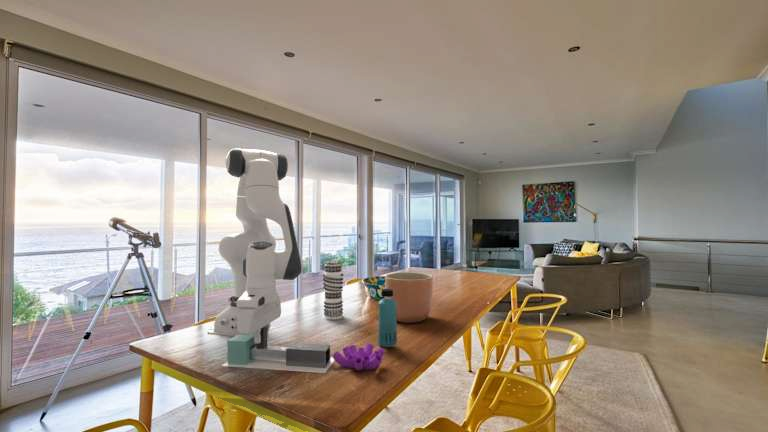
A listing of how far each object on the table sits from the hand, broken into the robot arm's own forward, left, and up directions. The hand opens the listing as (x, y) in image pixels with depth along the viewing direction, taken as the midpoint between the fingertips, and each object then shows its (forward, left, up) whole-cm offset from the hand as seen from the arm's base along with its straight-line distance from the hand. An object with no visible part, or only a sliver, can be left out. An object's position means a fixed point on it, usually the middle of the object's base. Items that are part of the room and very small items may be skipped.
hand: (261, 340), depth 110 cm
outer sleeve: (+15, 0, -6) cm, 16 cm away
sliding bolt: (+4, 0, -5) cm, 6 cm away
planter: (+40, +54, -7) cm, 68 cm away
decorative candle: (+6, +53, -7) cm, 54 cm away
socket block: (-6, 0, -6) cm, 8 cm away
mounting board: (+6, 0, -7) cm, 9 cm away
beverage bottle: (+36, +19, -7) cm, 41 cm away
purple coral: (+31, +1, -7) cm, 32 cm away
